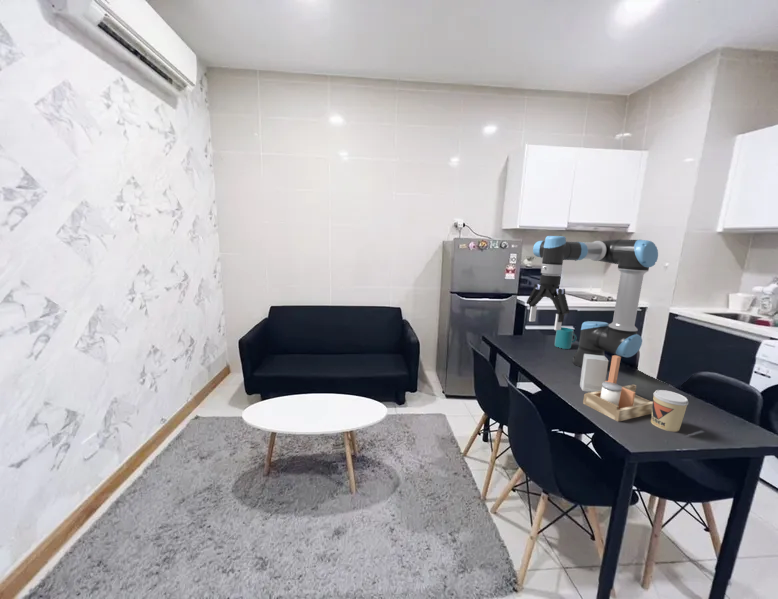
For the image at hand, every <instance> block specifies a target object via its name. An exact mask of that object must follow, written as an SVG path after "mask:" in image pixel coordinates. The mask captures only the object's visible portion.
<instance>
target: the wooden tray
mask: <svg viewBox="0 0 778 599" xmlns="http://www.w3.org/2000/svg"><path fill="white" fill-rule="evenodd" d="M621 386H622V385H621ZM622 387H623V388H626V389H628V390H630V391H633V392H635V393H636V390H637V384H629V385H624V386H622ZM600 396H601V391H596V392H586V393H584V395H583V400H582V404H583V405H585V406H587V407H589V408H591V409H593V410H595V411H597V412H599V413H600V414H602V415H603V416H604V415H605V416H606V417H609V419H612V420H614V421H616V422H622V421H628V420H630V419H634V418H635V419H636V418H639V417H643V416H648V415H652V405H653V400H652V401H651V400H649V399H647V398H644V397H641V396H639V395H637V394H635V398H634V403H633V406H630V407H625V408H621V409H618V408H619V406H617V405H615V404H613V403H611V402H608V401H606V400H604V399H602V398H600Z"/></svg>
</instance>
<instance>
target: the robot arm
mask: <svg viewBox="0 0 778 599" xmlns="http://www.w3.org/2000/svg"><path fill="white" fill-rule="evenodd" d="M566 240H567V238H566V236H560V235H547V236H546V237H545V239H544V240H538V241H536V242H535V243H534V245H533V248H532V253H533V255H534V256H535V257H536V258H541V259H542V261H541V267H540V274H541V275H539V276H540V277H539V283H535V284H534V285H533V290H532V291H531V293H530V294H529V295H528V296H529V297H528V298H527V300H526V304H527V305H529V311H528V314H529V318H528V321H529V322H532V323H533V322H536V317H537V308H538V306H537V305H538V304H539V302H541V300H542V299H543V298H545V297H546V298H547V299H548V298H549V299H550V300H551V302H552V303H553V306H554V307H555V309H556V312H557V313H555V321H554V328H553V330H554V331H556V330H561V327H562V324H563V322H564V320H565V315H566V314H567V315H568V314H569V313H570V308H569V305H568V300H567V297H566V289H565V288H559V285H560V284H561V279H562V278H561V275H562V270H563V262H564V261H575V262H576V261H581V260H583V259H587V260H589V259H590V260H591V261H594V262H597V261H598V262H602V263H603V262H604V263H608V264H614V265H618V266H617V270H618V271H619V272H620V275H619V281H618V288H617V293H616V294H617V295H616V300H615V306H614V310H613V312H614V313H613V319H612V322H611V323H608V322H605V321H595V320H593V321H591V320H590V321H589V320H587V321H584V322H582V324H581V328H580V334H579V339H578V340H579V341H578V346H577V350H576V352H575V353H574V355H573V356H572V364H574V365H575V366H578V367H580V368H582V365H583V357H584V354H591V355H601V356H605V351H606V352H609V353H611V354H614V355H617V356H620V357H624V358H632V357H633V356H635V355H637V353H638V352H639V350H640V349H641V347H642V345H643V339H642V336H641V335H640V334H638V330H639V329H638V327H636V326H635V324H636V320H637V313H638V307H639V303H640V297H641V291H642V287H643V286H642V285H643V281H644V275H645V274H646V273H648V272H649V270H650V268H652V267H653V266H655V265H656V262H658V259H659V258H658V257H659V250H658V247H657V245H656V244H655V243H654V242H653V241H651V240H646V239H621V238H619V239H617V238H616V239H607V240H594V241H592V242H586V241H585V242H583V241H566ZM605 357H606V356H605Z"/></svg>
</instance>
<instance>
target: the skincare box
mask: <svg viewBox="0 0 778 599" xmlns="http://www.w3.org/2000/svg"><path fill="white" fill-rule="evenodd" d="M609 361H610V360H608V358H607V357H606V356H601V355H591V354H584V357H583V365H582V367H581V372H580V380H579V381H580V382H579V387H580V388H581V390H582V391H583V392H586V393H589V392H590V393H591V392H596V391H601V390H602V383H603V382H605V381H607V372H608V369H609V368H608V366H609Z"/></svg>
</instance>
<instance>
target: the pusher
mask: <svg viewBox="0 0 778 599" xmlns="http://www.w3.org/2000/svg"><path fill="white" fill-rule="evenodd" d="M621 359H622V356H618V355H616V354H614V355H611V361H610V367H609V372H608V373H609V374H608V379H607V380H606V381H605V382H612V383H616V384H617V382H618V376H619V370H620V363H621ZM635 395H636V391H635V392H633V391H630V390H628V389H626V388H623V387H622V391H621V395H620V401H619V408H618V409H621V408H625V407H630V406H633V403H634V398H635Z"/></svg>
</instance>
